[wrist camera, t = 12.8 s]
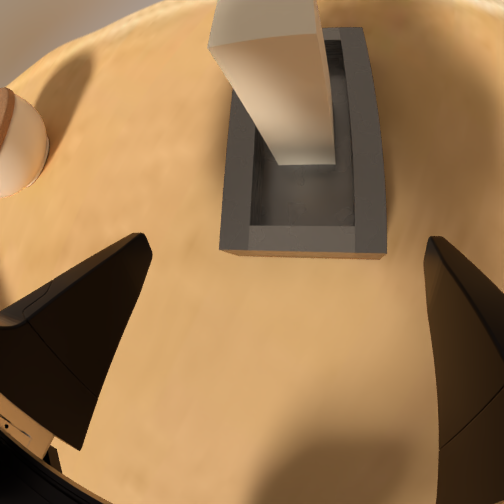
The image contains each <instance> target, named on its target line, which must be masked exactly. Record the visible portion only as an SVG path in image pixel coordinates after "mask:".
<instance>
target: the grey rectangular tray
mask: <svg viewBox="0 0 504 504" xmlns="http://www.w3.org/2000/svg"><path fill="white" fill-rule="evenodd" d="M322 32H323V38H324V44H325V50H326V56H327V63H328V70H329V77H330V84H331V92H332V100H333V112H334V132H335V160H336V164H310V165H278V163H277V161H276V160H275V158H274V156H273V154H272V153H271V151H270V149H269V147H268V146H267V144H266V142H265V140H264V139H263V137H262V135H261V134H260V132H259V130H258V128H257V127H256V125H255V123H254V122H253V120H252V118H251V117H250V115H249V113H248V112H247V110H246V108H245V107H244V105H243V103H242V102H241V100H240V99H239V97H238V95H237V94H236V92H235V90H234V89H233V92H232V101H231V111H230V121H229V131H228V142H227V153H226V164H225V176H224V188H223V201H222V214H221V228H220V242H219V250H221V251H225V252H228V253H231V254H234V255H237V256H258V257H296V258H335V259H376V260H380V259H381V258H382V257H383V256H384V255H386V254H387V218H386V193H385V176H384V163H383V151H382V141H381V132H380V124H379V116H378V108H377V101H376V95H375V88H374V82H373V77H372V71H371V66H370V61H369V56H368V51H367V46H366V41H365V37H364V32H363V28H362V27H340V28H322Z"/></svg>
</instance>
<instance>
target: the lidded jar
mask: <svg viewBox="0 0 504 504" xmlns="http://www.w3.org/2000/svg"><path fill="white" fill-rule="evenodd" d="M48 152H49V138H48V136H47V134H46V128H45V124H44V122H43V119H42V117H41V116H40V114H39V112H38V111H37V110H36V109H35V108H34V107H33V106H32V105H31V104H30V103H29V102H27V101H26V100H25V99H23V98H21V97H20V96H18V95H16V94H14V92H13V91H12V90H10V89H8V88H6V87H4V88H0V198H5V197H10V196H12V195H15V194H17V193H18V192H20V191H21V190H23V189H24V188H26V187H29V186H31V185H32V184H33V183H34V182H35V181H36V179H37V178H38V177H39V175H40V173H41V172H42V170H43V168H44V165H45V163H46V160H47V157H48Z"/></svg>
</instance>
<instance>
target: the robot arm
mask: <svg viewBox="0 0 504 504" xmlns="http://www.w3.org/2000/svg"><path fill="white" fill-rule="evenodd" d="M151 260H152V250H151V248H150V245H149V243H148V240H147V238H146V236H145V234H143V233H132V234H130V235H128V236H126V237H124V238H123V239H121V240H119V241H117V242H115V243H114V244H112V245H110V246H108V247H107V248H105V249H103V250H101V251H100V252H98V253H96V254H95V255H93V256H91V257H89V258H88V259H86V260H84V261H83V262H81V263H79V264H78V265H76V266H74V267H73V268H71V269H69V270H68V271H66V272H64V273H63V274H61V275H59V276H58V277H56V278H55V279H54V280H51V281H50V282H48V283H47V284H45V285H43V286H42V287H40V288H38V289H37V290H35V291H34V292H32V293H30V294H29V295H27V296H25V297H24V298H22V299H20V300H18V301H17V302H15V303H13V304H12V305H10V306H8V307H7V308H5V309H3V310H2V311H0V504H113V503H111V502H109V501H107V500H105V499H103V498H101V497H99V496H98V495H96V494H94V493H92V492H91V491H89V490H87V489H85V488H84V487H82V486H80V485H79V484H77V483H76V482H74V481H72V480H71V479H69V478H68V477H66V476H65V475H63V474H62V470H61V466H60V461H59V457H58V453H57V449H56V448H54V447H53V446H51V445H50V444H51V442H52V440H53V438H54V436H55V437H57V438H58V439H60V440H61V441H63V442H65V443H66V444H68V445H70V446H72V447H73V448H75V449H77V450H79V451H80V450H81V448H82V446H83V443H84V439H85V436H86V433H87V430H88V427H89V424H90V421H91V418H92V415H93V412H94V409H95V406H96V404H97V401H98V397H99V395H100V392H101V389H102V386H103V384H104V381H105V378H106V376H107V373H108V370H109V368H110V365H111V362H112V360H113V357H114V355H115V352H116V350H117V347H118V345H119V342H120V340H121V337H122V335H123V333H124V330H125V328H126V325H127V323H128V321H129V318H130V316H131V314H132V311H133V309H134V307H135V304H136V302H137V300H138V297H139V295H140V292H141V289H142V287H143V284H144V281H145V278H146V275H147V272H148V269H149V266H150V263H151ZM424 276H425V287H426V301H427V313H428V320H429V326H430V333H431V340H432V347H433V355H434V364H435V374H436V385H437V399H438V420H439V463H438V485H437V498H436V504H504V293H503V292H502V291H501V290H500V289H499V288H498V287H497V286H496V285H495V284H494V283H493V282H492V281H491V280H490V279H489V278H488V277H487V276H486V275H484V274H483V273H482V272H481V271H480V270H479V269H478V268H477V267H476V266H475V265H474V264H473V263H472V262H471V261H470V260H469V259H467V258H466V257H465V256H464V255H463V254H462V253H461V252H460V251H459V250H457V249H456V248H455V247H454V246H453V245H452V244H451V243H449V242H448V241H447V240H446V239H445V238H444V237H442V236H430V237H429V239H428V242H427V247H426V252H425V257H424Z"/></svg>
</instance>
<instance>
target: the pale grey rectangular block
mask: <svg viewBox="0 0 504 504" xmlns="http://www.w3.org/2000/svg"><path fill="white" fill-rule="evenodd" d="M207 48H208V50H209V51H210V53H211V54H212V56H213V57H214V59H215V61H216V62H217V64H218V65H219V67H220V68H221V70H222V71H223V73H224V75H225V76H226V78H227V79H228V81H229V82H230V84H231V86H232V87H233V89H234V90H235V92H236V94H237V95H238V97H239V99H240V100H241V102H242V103H243V105H244V107H245V108H246V110H247V112H248V113H249V115H250V117H251V118H252V120H253V122H254V123H255V125H256V127H257V128H258V130H259V132H260V134H261V135H262V137H263V139H264V140H265V142H266V144H267V146H268V147H269V149H270V151H271V153H272V154H273V156H274V158H275V160H276V161H277V163H278V165H310V164H336V160H335V132H334V112H333V100H332V92H331V84H330V77H329V70H328V63H327V56H326V50H325V44H324V38H323V32H322V27H321V21H320V16H319V11H318V6H317V1H316V0H218V1H217V6H216V10H215V14H214V19H213V23H212V28H211V32H210V37H209V42H208V47H207Z"/></svg>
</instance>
